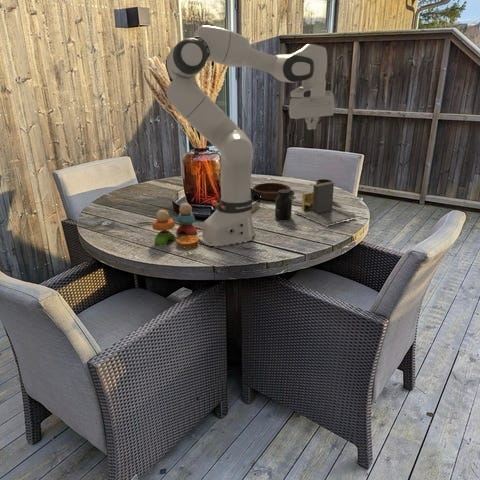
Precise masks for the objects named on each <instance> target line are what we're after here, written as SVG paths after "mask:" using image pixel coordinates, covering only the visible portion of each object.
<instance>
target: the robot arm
mask: <svg viewBox="0 0 480 480" xmlns="http://www.w3.org/2000/svg"><path fill="white" fill-rule="evenodd" d="M207 62H213V63H216V64H219V65H223V66H227V67H232V68H233V67H234V68H242V67H248V68H253V69H256V70H258V71H261V72H265V73H266V74H268V75H269V76H270V77H271V78H272V79H273V80H275V81H276V82H279V83H292V84H293V83H295V84H296V83H298V82H299V83H300V82H301V86H298V87H297V88H295V89H293V90H291V91H290V97H291V99H290V100H289V106H288V116H289V118H290V119H294V120H299V119H304V121H305V123H306V129H307V130H309V131H310V130H315V129H317V124H318V122H319V119H320V117H329V116H334V114H335V97H334V93H333V91H332V90H326V86H327V80H326V74H327V70H328V53H327V49H326V47H325V46H323V45H321V44H317V43H315V44H314V43H307V44H305V45H304V46H303V47H302V48H301V49H299V50H297V51H294V52H292V53H288V54H286V53H279V54H269V53H267V52H263V51H261V50H257V49H255V48H254V47H252V46H251V43H250V41H249V40H248V39H247V37H245V36H243V35H241V34H239V33H237V32H235V31H233V30H230V29H226V28H223V27H219V26H214V25H213V26H211V25H204V24H203V25H200V26H199V27H197V28H196V30H195V31H194V33H193V36H192V37H190V38H185V39H182V40H180V41H179V42H177V44H175V45H174V46H173V47H172V48H171V49H170V51H169V53H168V54H167V56H166V59H165V71H166V72H167V75H168V78H169V81H170V83H169V84H168V86H167V89H166V97H167V99H168V100H169V102H170V104H171V105H172V106H173V107H174V109H175V110H176V111H177V112H178V113H179V115H181V117H182V118H184V119H185V120H186V122H188V124H190V125H191V127H192V128H193V129H195V131H197V133H199V134H200V136H201V137H203V138H204V139H206V140H207V141H208V142H209V143H210V144H211V145H212V146H213V147H214V148H216V149H217V150H218V151H219V152H220V161H221V162H220V199H219V202H218V201H216V200H212V202H211V205H212V206H214V207H216V208H217V209H216V210H215V211H214V212H213V213H212V214H211V215H209V217H208V218H206V219H205V220H204V221H203V225H202V232H199V233H198V232H197V234H196V237H197V238H198V242H200V243H201V242H202V243H201V244H203V243H204V244H203V245H205V244H206V245H205V246H207V245H209V246H208V247H210V246H215V247H214V248H217V247H216V246H221V247H224V246H223V245H227V246H230V245H229V244H233V245H236V244H235V243H239V244H241V243H240V242H245V241H250V240H252V241H253V238H254V237H255V235H256V231H255V228H254V225H253V218H252V217H253V216H252V209H253V198H252V196H251V191H252V185H251V184H252V182H251V181H252V172H253V171H252V170H253V157H254V155H253V154H254V147H253V143H252V141H251V140H250V138H249V137H248V136H247V135H246V134H245V132H244V131H243V130H242V129H241V128H240V127H239V126H238V125H237V123H235V122H234V121H233V120H232V119H231V118H230V117H229V116H228V115H227V114H226V113H225V111H223V110H222V109H221V107H219V106H218V104H217V103H215V102H214V100H213V99H212V98H211V97H210V96H209V95H208V94H207V93H206V92H205V91H204V90H203V89H202V88H200V85H199V84H198V82H197V79H196V76H197V75H199V73H200V72H201V71H202V70H203V69H204V68H205V65H206V63H207ZM253 236H254V237H253ZM252 237H253V238H252ZM245 243H246V242H245Z"/></svg>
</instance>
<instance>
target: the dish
mask: <svg viewBox="0 0 480 480" xmlns="http://www.w3.org/2000/svg"><path fill="white" fill-rule="evenodd" d="M253 190H254V191H255V192H257V193H259V194H260V196H261V198H262V199H261V200H264V199H265V201H276V198H277V197H278V191H279V190H289V191H290V196H289V197H292V196H294V195H295V191H294V190H291V186H289V185H287V184H284V183H278V182H264V183H259V184H256V185H254V186H253V187H252V191H253ZM251 194H252V193H251Z"/></svg>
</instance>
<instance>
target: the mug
mask: <svg viewBox="0 0 480 480" xmlns="http://www.w3.org/2000/svg"><path fill="white" fill-rule="evenodd" d="M315 182H316V183H315V185H316V184H321V183H326V182H332V183H333V180H331V179H328V178H327V179H325V178H323V179H317V180H316V181H315Z"/></svg>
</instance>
